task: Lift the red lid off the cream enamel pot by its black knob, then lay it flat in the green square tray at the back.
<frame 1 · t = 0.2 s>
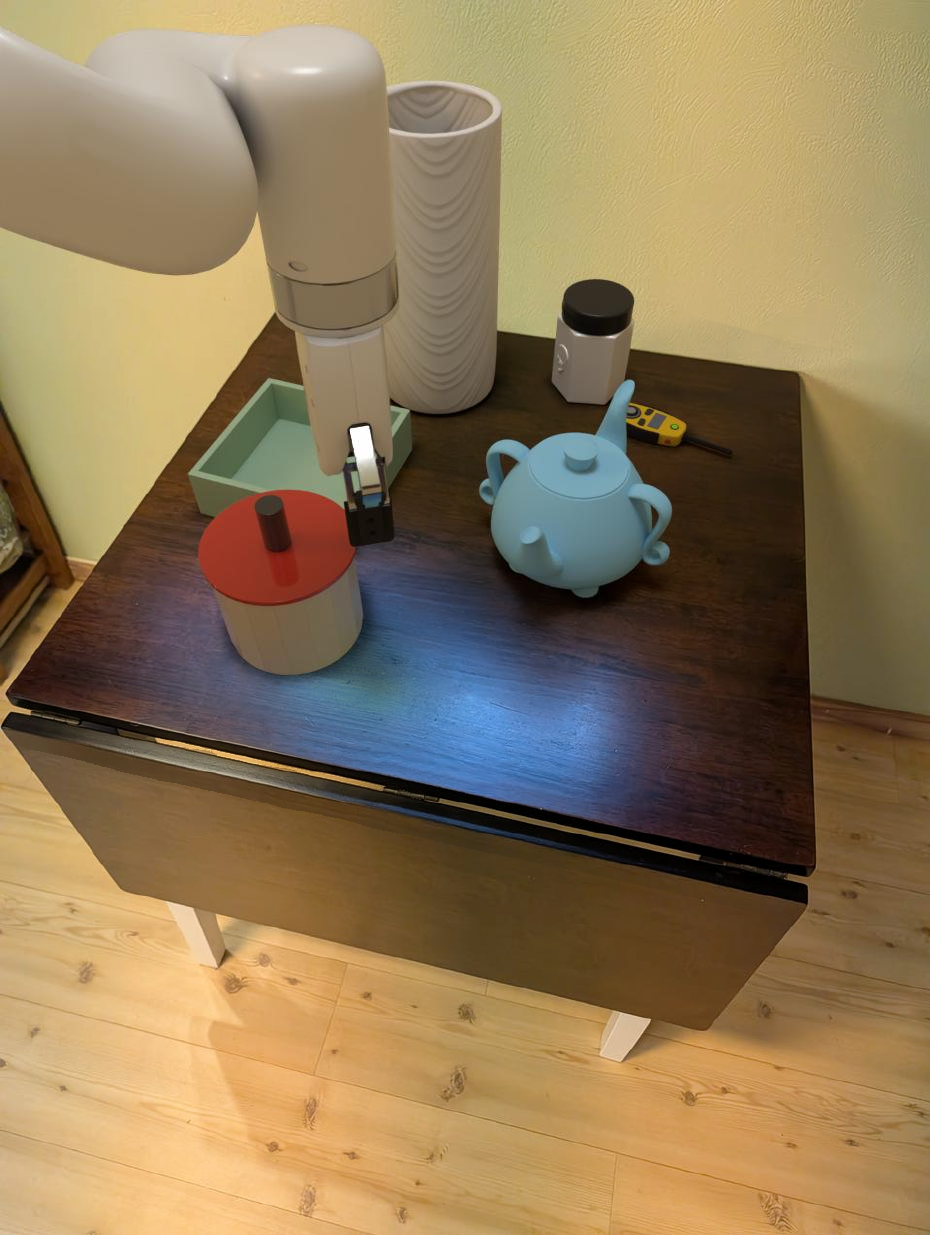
hand: (361, 495, 63), 20 cm above the table, tool pointing down, fingers open, 9 cm apart
teapot: (565, 556, 87), on the table
jar: (586, 386, 106), on the table
pot: (297, 622, 82), on the table
lid: (279, 546, 73), point 10 cm above the table, touching pot
vase: (438, 384, 106), on the table
remote control: (669, 438, 99), on the table
green square tray: (310, 480, 94), on the table
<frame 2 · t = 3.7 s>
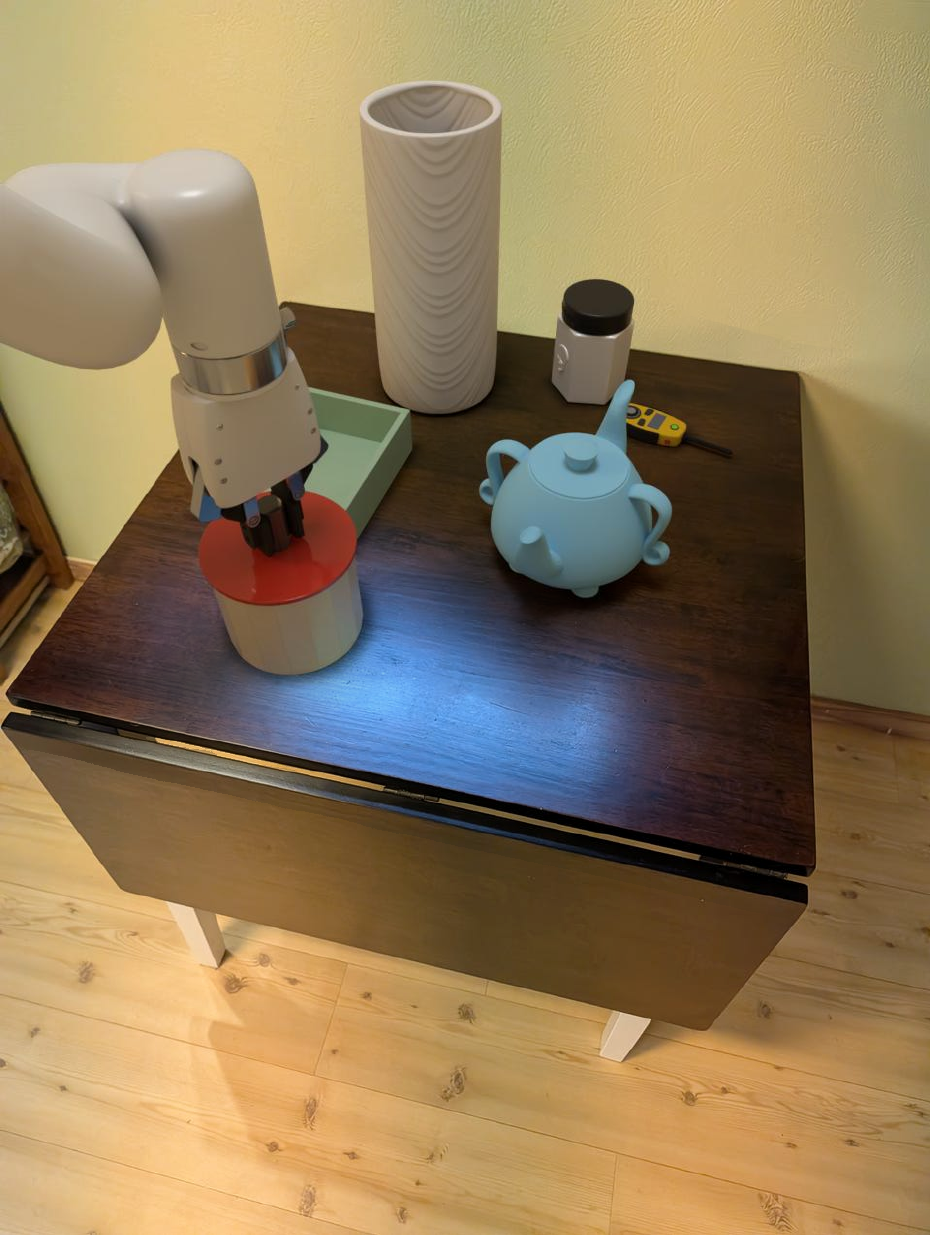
hand: (276, 537, 72), 12 cm above the table, tool pointing down, fingers closed on lid, 2 cm apart
lid: (279, 546, 73), point 11 cm above the table, touching gripper, pot
everything else where it was.
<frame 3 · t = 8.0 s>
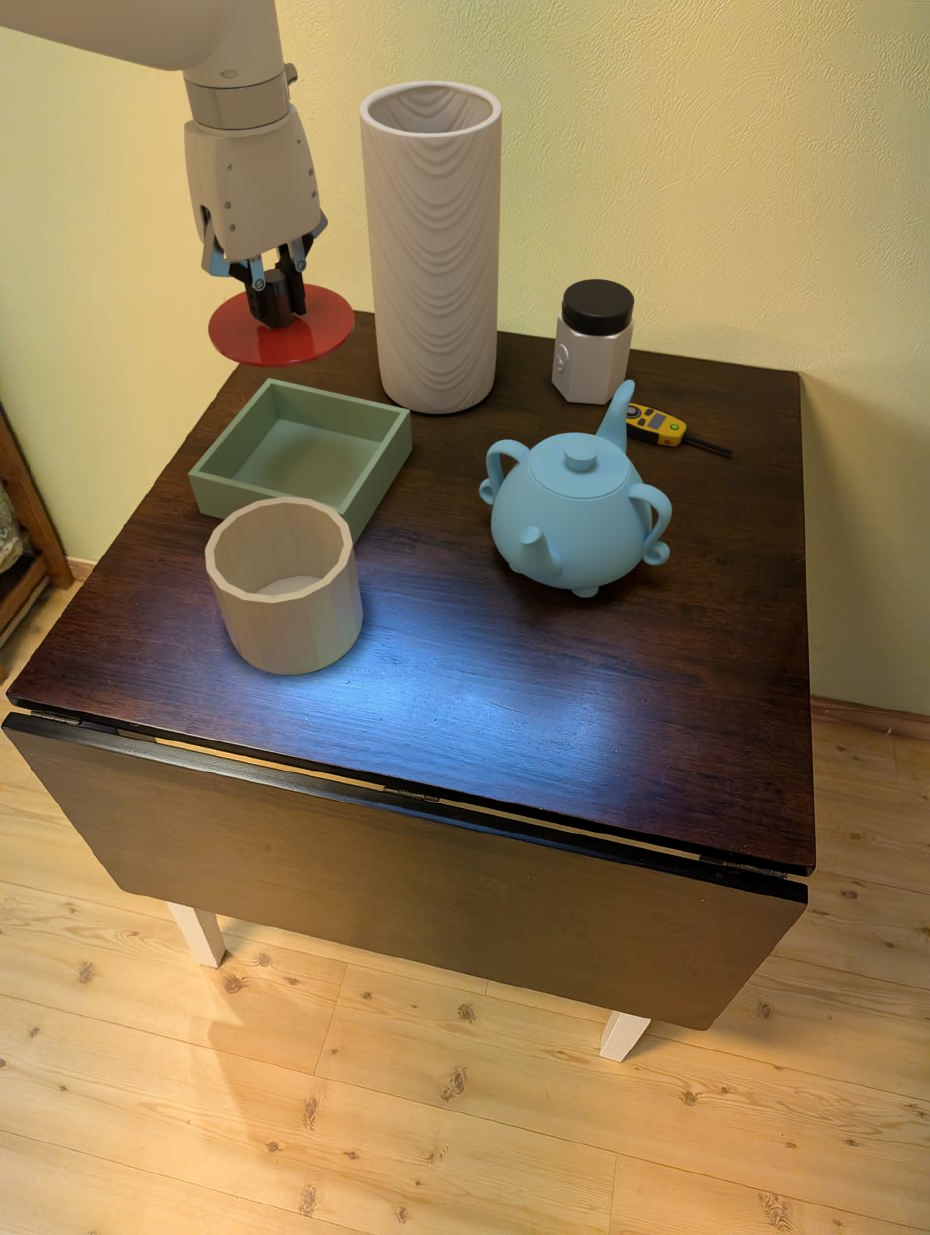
hand: (280, 314, 79), 20 cm above the table, tool pointing down, fingers closed on lid, 2 cm apart
lid: (282, 325, 79), point 19 cm above the table, touching gripper
everything else where it was.
when the fingers open (2 cm above the table, at t = 12.2 s): lid stays where it is, resting on green square tray.
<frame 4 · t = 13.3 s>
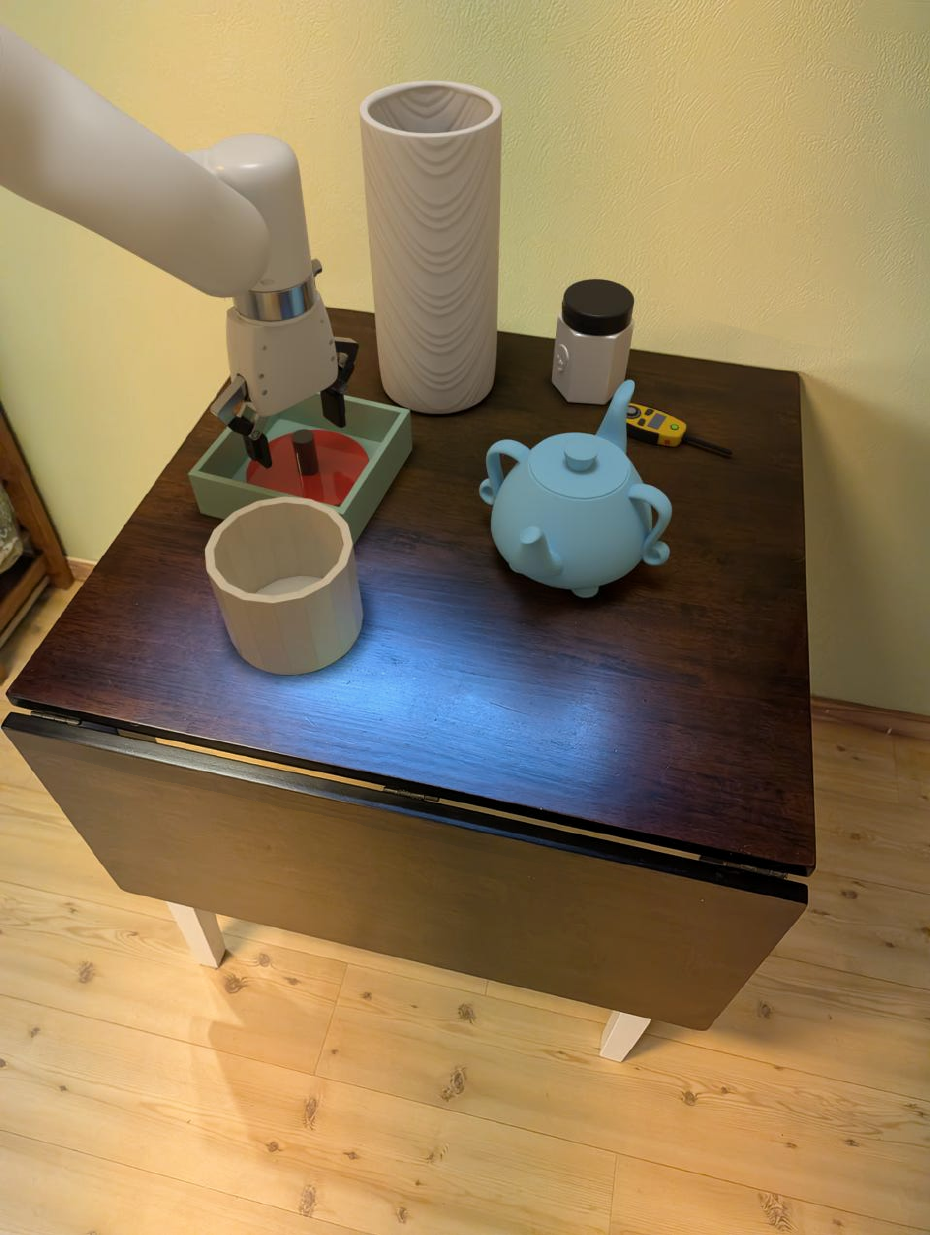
hand: (299, 441, 90), 6 cm above the table, tool pointing down, fingers open, 9 cm apart
lid: (309, 472, 93), point 1 cm above the table, touching green square tray
everything else where it was.
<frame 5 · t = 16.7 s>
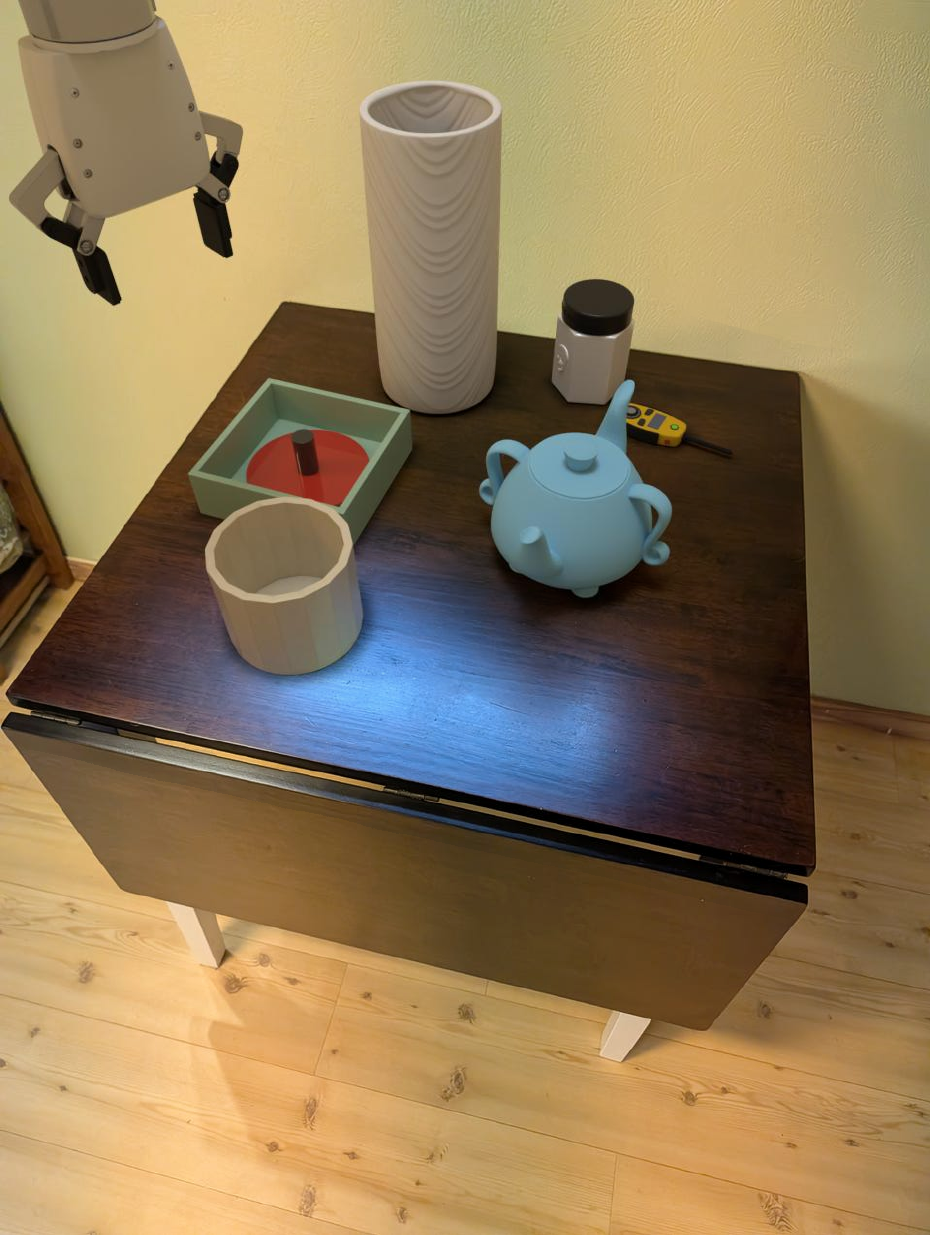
hand: (165, 273, 64), 30 cm above the table, tool pointing down, fingers open, 9 cm apart
nothing on the table moved.
at the end: lid inside the target area in the green square tray (0.0 cm from its centre), point 1.2 cm above the green square tray's base; lid tilted 0° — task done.
